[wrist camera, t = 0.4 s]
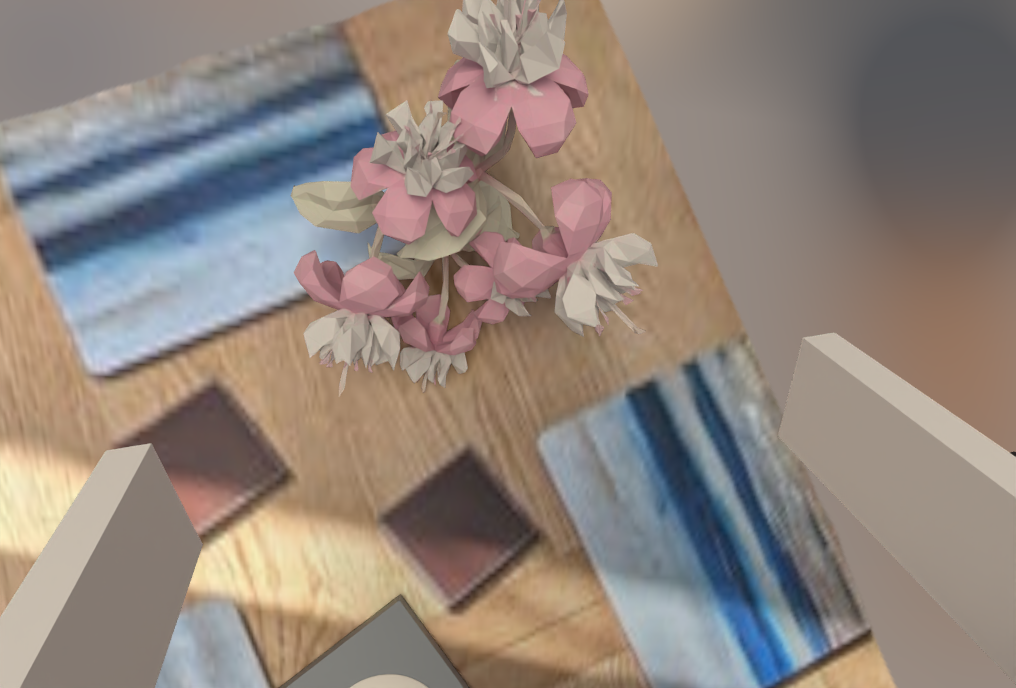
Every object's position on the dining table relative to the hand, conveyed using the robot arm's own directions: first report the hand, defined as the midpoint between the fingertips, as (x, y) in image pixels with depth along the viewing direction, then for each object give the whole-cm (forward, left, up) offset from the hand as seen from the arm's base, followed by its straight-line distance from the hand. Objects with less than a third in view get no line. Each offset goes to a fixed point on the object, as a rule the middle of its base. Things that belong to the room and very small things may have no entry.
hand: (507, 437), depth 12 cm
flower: (+7, -5, -35) cm, 36 cm away
